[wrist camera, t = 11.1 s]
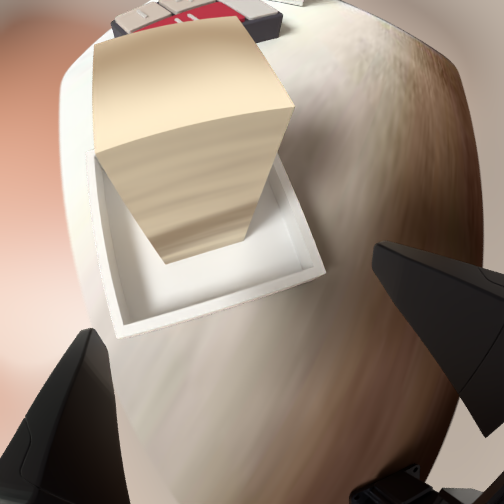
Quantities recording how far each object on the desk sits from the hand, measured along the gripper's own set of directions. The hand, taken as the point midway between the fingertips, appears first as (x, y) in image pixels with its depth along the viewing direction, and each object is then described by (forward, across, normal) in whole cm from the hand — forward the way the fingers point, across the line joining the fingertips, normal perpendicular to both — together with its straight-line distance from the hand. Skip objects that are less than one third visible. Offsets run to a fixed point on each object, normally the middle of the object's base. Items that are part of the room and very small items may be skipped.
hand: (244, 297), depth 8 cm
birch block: (+11, 0, +2) cm, 11 cm away
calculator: (+27, -4, -13) cm, 30 cm away
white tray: (+11, 0, +2) cm, 12 cm away
